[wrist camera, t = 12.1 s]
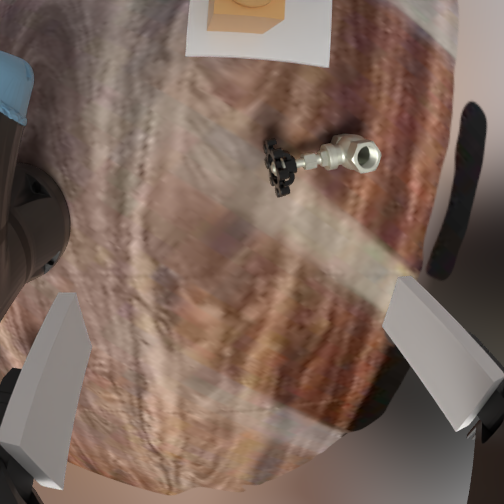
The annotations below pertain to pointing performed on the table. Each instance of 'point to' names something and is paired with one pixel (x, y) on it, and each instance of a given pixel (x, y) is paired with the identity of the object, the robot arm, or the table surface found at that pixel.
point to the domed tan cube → (244, 15)
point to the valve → (321, 159)
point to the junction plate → (267, 35)
